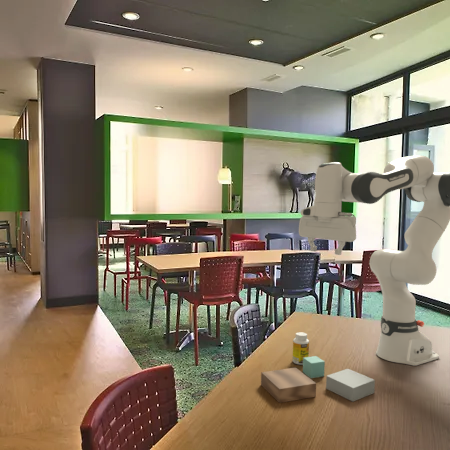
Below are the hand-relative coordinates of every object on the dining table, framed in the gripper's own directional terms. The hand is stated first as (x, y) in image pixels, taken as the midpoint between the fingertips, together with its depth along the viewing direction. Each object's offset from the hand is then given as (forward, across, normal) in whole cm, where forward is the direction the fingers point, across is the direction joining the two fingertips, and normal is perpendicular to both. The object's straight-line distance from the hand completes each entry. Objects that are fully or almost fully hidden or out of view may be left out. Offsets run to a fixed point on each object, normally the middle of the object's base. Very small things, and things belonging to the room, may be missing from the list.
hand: (325, 252), depth 146 cm
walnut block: (+40, -3, +22) cm, 45 cm away
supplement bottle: (+40, +8, +1) cm, 41 cm away
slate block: (+40, -16, +8) cm, 43 cm away
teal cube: (+40, -1, +6) cm, 40 cm away
